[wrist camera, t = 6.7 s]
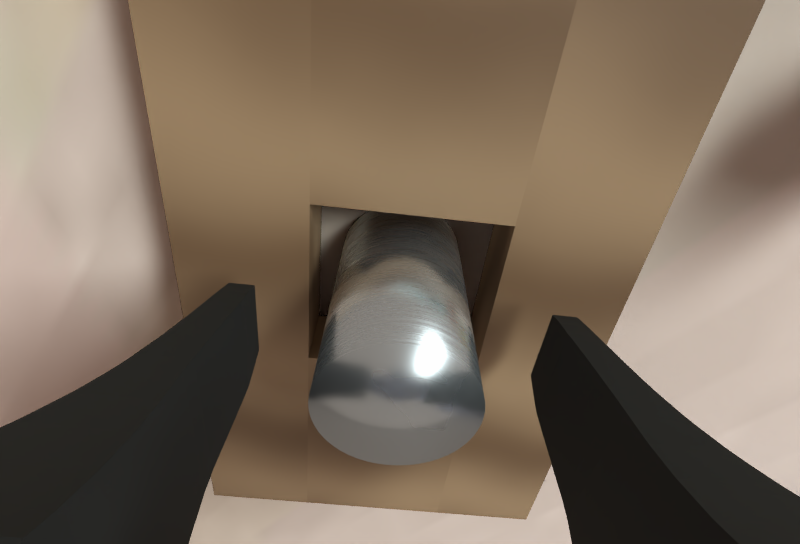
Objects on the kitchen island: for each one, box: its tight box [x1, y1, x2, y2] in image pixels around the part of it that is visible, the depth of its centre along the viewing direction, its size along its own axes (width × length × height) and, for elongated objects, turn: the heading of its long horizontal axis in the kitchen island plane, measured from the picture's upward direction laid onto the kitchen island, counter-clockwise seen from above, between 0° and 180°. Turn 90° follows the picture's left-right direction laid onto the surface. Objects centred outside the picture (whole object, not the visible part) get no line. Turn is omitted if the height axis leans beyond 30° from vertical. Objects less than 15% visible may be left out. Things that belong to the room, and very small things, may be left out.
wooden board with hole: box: [128, 0, 765, 519], centre depth 14 cm, size 20×12×2 cm, turn 174°
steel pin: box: [308, 211, 485, 465], centre depth 12 cm, size 4×4×6 cm
